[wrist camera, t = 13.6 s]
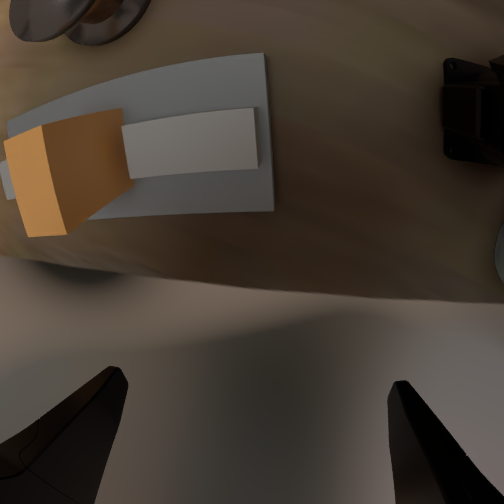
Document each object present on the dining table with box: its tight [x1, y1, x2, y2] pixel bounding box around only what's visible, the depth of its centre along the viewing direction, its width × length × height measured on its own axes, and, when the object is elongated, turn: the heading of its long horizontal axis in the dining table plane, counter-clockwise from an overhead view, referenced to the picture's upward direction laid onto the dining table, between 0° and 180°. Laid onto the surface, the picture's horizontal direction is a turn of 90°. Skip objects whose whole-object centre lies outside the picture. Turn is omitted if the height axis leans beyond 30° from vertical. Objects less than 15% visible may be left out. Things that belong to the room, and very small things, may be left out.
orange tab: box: [4, 108, 135, 237], centre depth 14 cm, size 3×5×7 cm, turn 5°
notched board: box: [0, 53, 276, 220], centre depth 17 cm, size 20×9×4 cm, turn 94°
